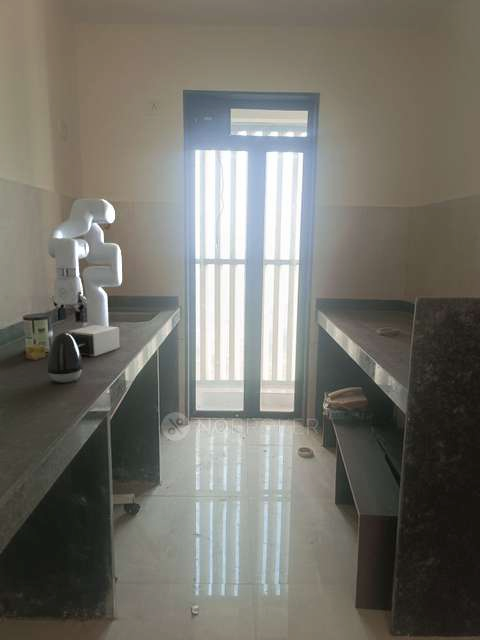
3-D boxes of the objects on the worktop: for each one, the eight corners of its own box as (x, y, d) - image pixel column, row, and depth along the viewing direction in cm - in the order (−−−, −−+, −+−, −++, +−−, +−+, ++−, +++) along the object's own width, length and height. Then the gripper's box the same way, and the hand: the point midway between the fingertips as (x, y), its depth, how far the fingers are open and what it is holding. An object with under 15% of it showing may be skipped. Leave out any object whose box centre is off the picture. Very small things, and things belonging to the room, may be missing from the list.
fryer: (94, 356, 158) (93, 334, 156) (69, 352, 162) (67, 331, 161) (119, 347, 171) (118, 327, 169) (95, 344, 176) (94, 324, 174)
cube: (26, 358, 154) (25, 346, 153) (36, 355, 158) (35, 344, 157) (35, 359, 152) (34, 347, 151) (45, 356, 156) (44, 345, 155)
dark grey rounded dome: (90, 377, 133) (88, 330, 130) (67, 387, 124) (64, 337, 121) (65, 373, 136) (62, 328, 134) (40, 383, 127) (36, 334, 124)
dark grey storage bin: (78, 358, 151) (77, 340, 150) (55, 355, 155) (54, 337, 154) (113, 347, 169) (113, 330, 167) (91, 344, 173) (90, 328, 172)
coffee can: (41, 345, 173) (39, 312, 170) (59, 348, 169) (57, 314, 166) (19, 351, 164) (16, 316, 161) (38, 354, 159) (35, 318, 157)
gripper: (41, 273, 150) (45, 320, 153) (78, 274, 144) (81, 324, 147) (57, 271, 157) (60, 317, 160) (94, 273, 151) (96, 321, 154)
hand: (70, 320), depth 154 cm, fingers open, 7 cm apart
